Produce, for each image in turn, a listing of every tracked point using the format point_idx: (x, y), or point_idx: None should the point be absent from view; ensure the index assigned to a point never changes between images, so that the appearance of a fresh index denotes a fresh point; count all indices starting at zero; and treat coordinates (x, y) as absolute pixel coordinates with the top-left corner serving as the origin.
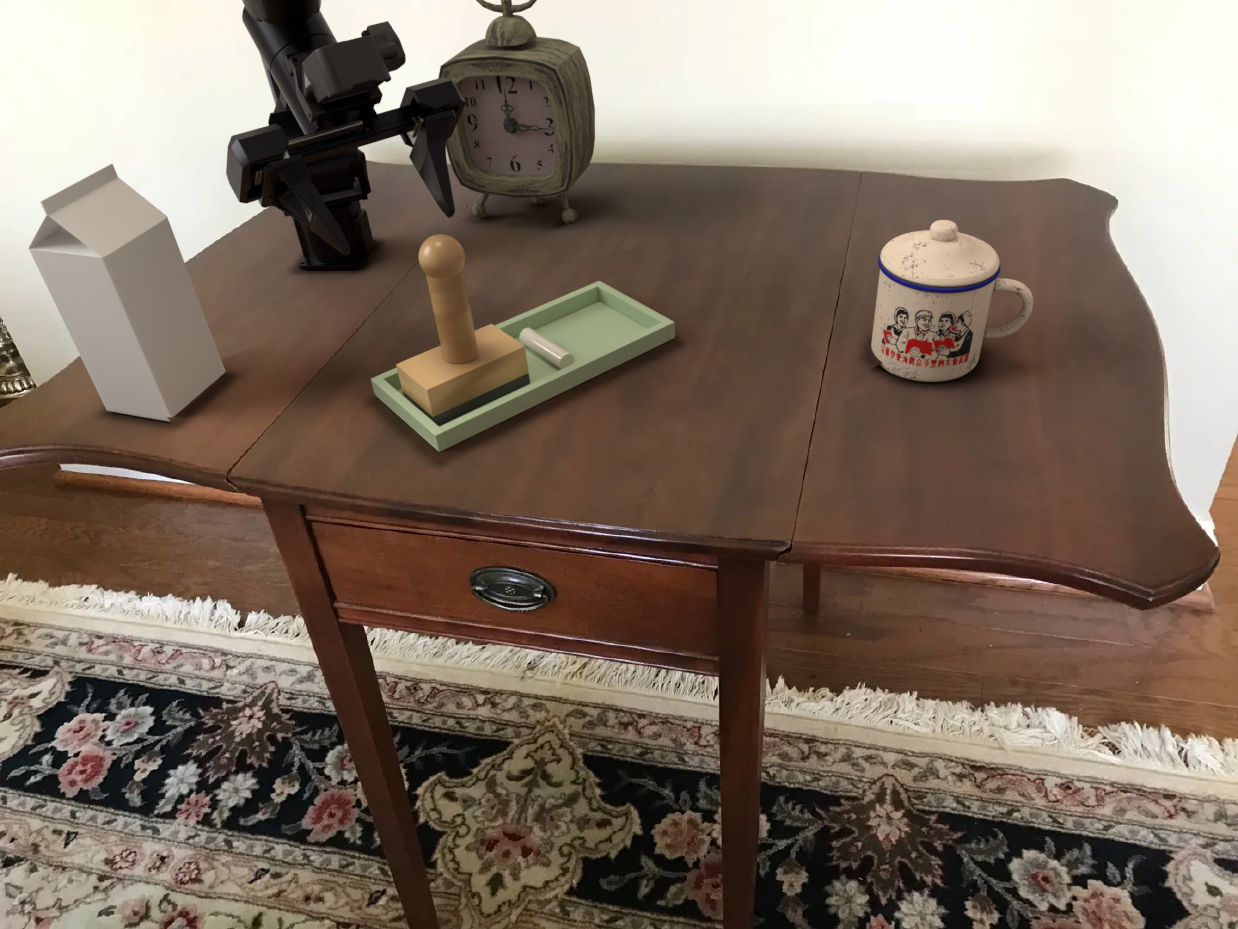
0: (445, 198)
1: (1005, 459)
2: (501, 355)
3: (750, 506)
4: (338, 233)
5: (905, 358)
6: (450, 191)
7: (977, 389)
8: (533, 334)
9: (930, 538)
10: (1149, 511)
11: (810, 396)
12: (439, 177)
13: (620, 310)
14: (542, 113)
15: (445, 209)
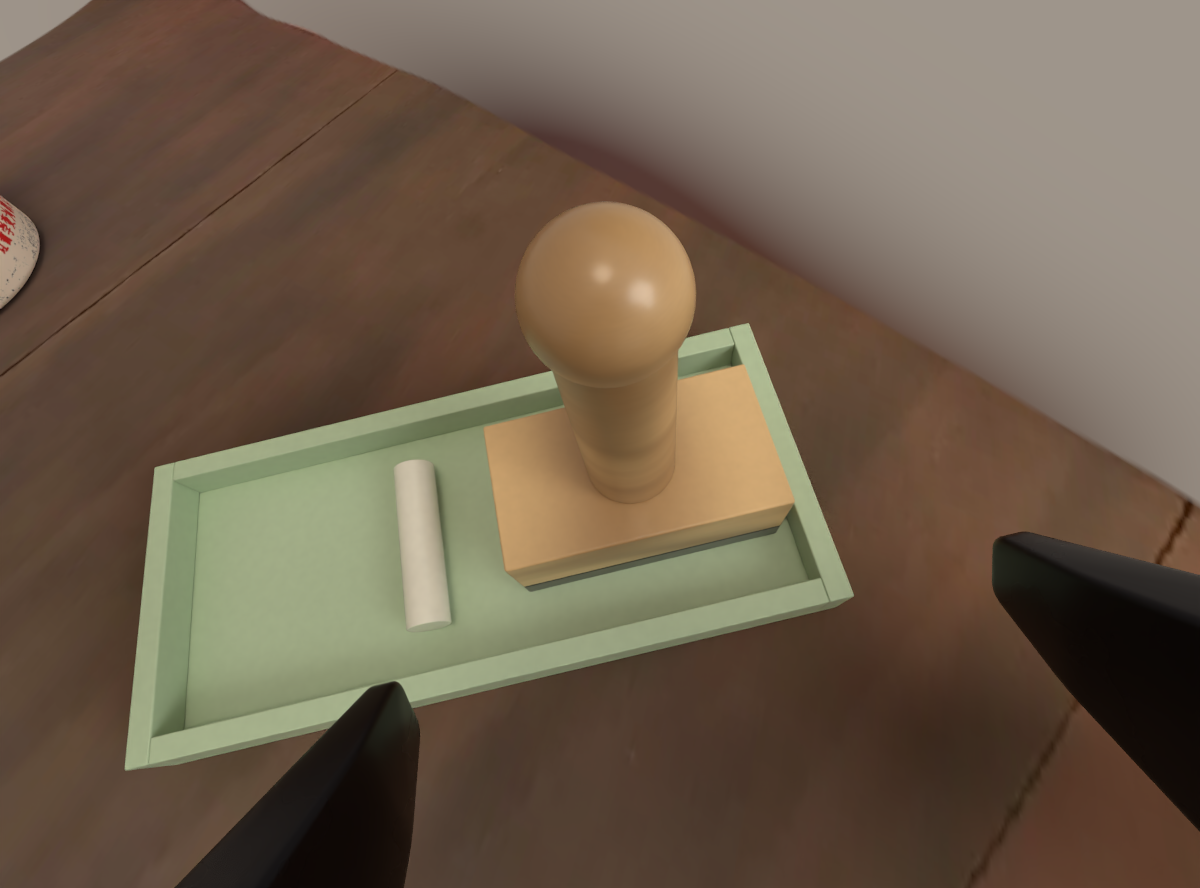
0: (367, 731)
1: (120, 91)
2: (546, 412)
3: (397, 119)
4: (1092, 560)
5: (6, 212)
6: (304, 760)
7: (5, 191)
8: (420, 581)
9: (286, 34)
10: (107, 8)
11: (164, 260)
12: (283, 838)
13: (185, 640)
14: None
15: (404, 743)
